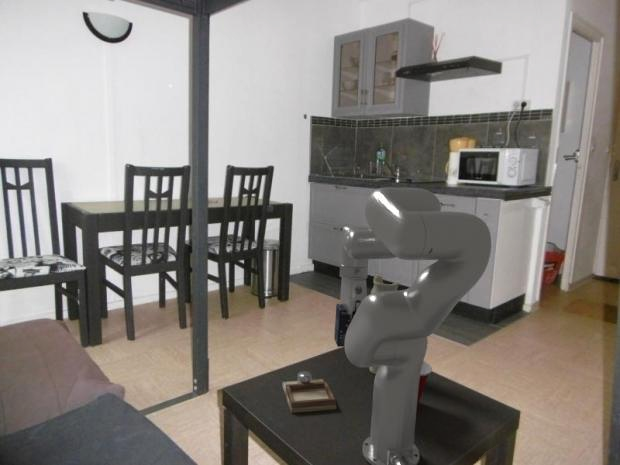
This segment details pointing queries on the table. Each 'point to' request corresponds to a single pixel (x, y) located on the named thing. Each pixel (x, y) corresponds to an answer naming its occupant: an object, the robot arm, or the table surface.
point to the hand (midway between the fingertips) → (350, 334)
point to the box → (341, 324)
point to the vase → (381, 287)
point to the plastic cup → (423, 378)
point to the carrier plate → (308, 394)
